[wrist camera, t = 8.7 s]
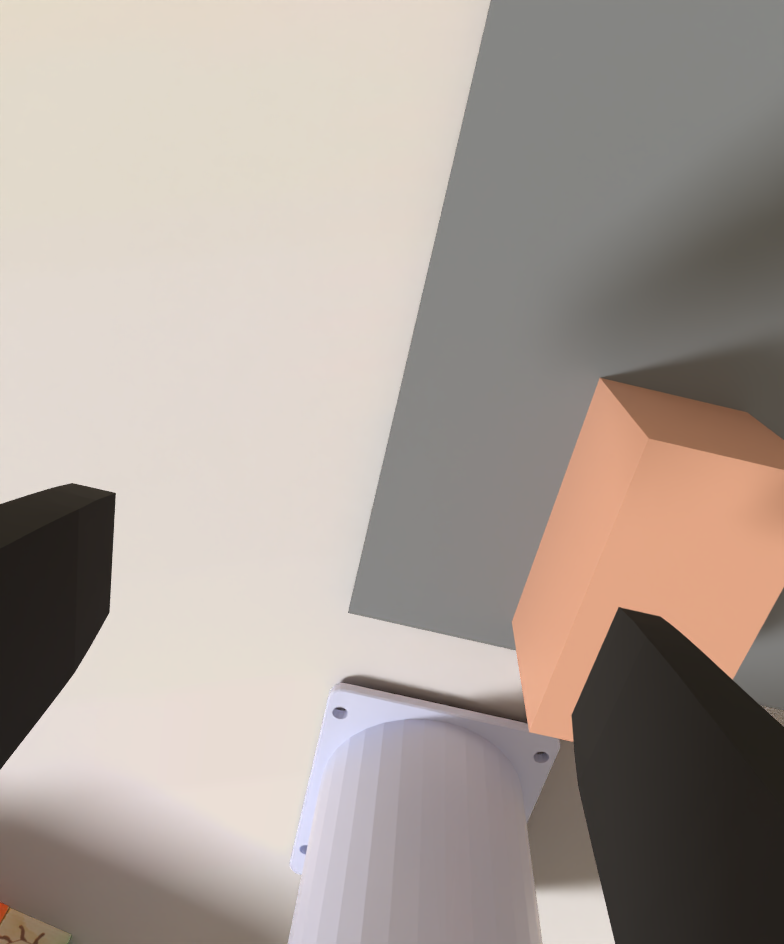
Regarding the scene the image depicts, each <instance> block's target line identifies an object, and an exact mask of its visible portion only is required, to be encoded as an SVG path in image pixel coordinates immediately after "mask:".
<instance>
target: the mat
mask: <svg viewBox="0 0 784 944" xmlns="http://www.w3.org/2000/svg"><path fill="white" fill-rule="evenodd" d="M599 378H603V379H608V380H612V381H616V382H620V383H625V384H629V385H633V386H637V387H642V388H646V389H650V390H654V391H659V392H663V393H667V394H671V395H676V396H680V397H684V398H688V399H693V400H697V401H701V402H705V403H710V404H714V405H718V406H722V407H727V408H731V409H735V410H739V411H744V412H747V413H749V414H750V415H751V416H753V417H754V418H755V419H757V420H758V421H759V422H761V423H762V424H763V425H765V426H766V427H767V428H768V429H770V430H771V431H772V432H774V433H775V434H776V435H778V436H779V437H780V438H782V439H783V440H784V0H491V2H490V7H489V11H488V15H487V19H486V24H485V28H484V32H483V37H482V41H481V45H480V49H479V54H478V58H477V62H476V67H475V71H474V75H473V79H472V84H471V88H470V92H469V97H468V101H467V105H466V109H465V114H464V118H463V122H462V127H461V131H460V135H459V139H458V144H457V148H456V152H455V157H454V161H453V165H452V169H451V174H450V178H449V182H448V187H447V191H446V195H445V199H444V204H443V208H442V212H441V217H440V221H439V225H438V229H437V234H436V238H435V242H434V247H433V251H432V255H431V259H430V264H429V268H428V272H427V277H426V281H425V285H424V289H423V294H422V298H421V302H420V306H419V311H418V315H417V319H416V324H415V328H414V332H413V336H412V341H411V345H410V349H409V354H408V358H407V362H406V366H405V371H404V375H403V379H402V384H401V388H400V392H399V396H398V401H397V405H396V409H395V414H394V418H393V422H392V426H391V431H390V435H389V439H388V444H387V448H386V452H385V456H384V461H383V465H382V469H381V474H380V478H379V482H378V486H377V491H376V495H375V499H374V504H373V508H372V512H371V516H370V521H369V525H368V529H367V534H366V538H365V542H364V546H363V551H362V555H361V559H360V564H359V568H358V572H357V576H356V581H355V585H354V589H353V594H352V598H351V602H350V607H349V611H348V613H351V614H356V615H360V616H365V617H369V618H374V619H378V620H383V621H387V622H392V623H396V624H400V625H405V626H409V627H414V628H418V629H423V630H427V631H432V632H436V633H441V634H445V635H450V636H454V637H458V638H463V639H467V640H472V641H476V642H481V643H485V644H490V645H494V646H499V647H503V648H508V649H512V650H516V646H515V640H514V633H513V627H512V620H513V617H514V614H515V612H516V609H517V606H518V603H519V601H520V598H521V595H522V592H523V589H524V587H525V584H526V581H527V578H528V576H529V573H530V570H531V567H532V564H533V562H534V559H535V556H536V553H537V551H538V548H539V545H540V542H541V539H542V537H543V534H544V531H545V528H546V526H547V523H548V520H549V517H550V514H551V512H552V509H553V506H554V503H555V501H556V498H557V495H558V492H559V489H560V487H561V484H562V481H563V478H564V476H565V473H566V470H567V467H568V464H569V462H570V459H571V456H572V453H573V451H574V448H575V445H576V442H577V439H578V437H579V434H580V431H581V428H582V426H583V423H584V420H585V417H586V414H587V412H588V409H589V406H590V403H591V401H592V398H593V395H594V392H595V389H596V387H597V384H598V381H599ZM733 681H734V682H735V683H737V684H738V685H739V686H740V687H741V688H742V689H743V690H744V691H745V692H746V693H747V694H748V695H749V696H751V697H752V698H753V699H754V700H755V701H756V702H757V703H758V704H759V705H762V706H766V707H771V708H775V709H780V710H784V588H783V589H782V591H781V593H780V595H779V597H778V599H777V600H776V602H775V604H774V606H773V608H772V609H771V611H770V613H769V615H768V617H767V618H766V620H765V622H764V624H763V626H762V627H761V629H760V631H759V633H758V635H757V637H756V638H755V640H754V642H753V644H752V646H751V647H750V649H749V651H748V653H747V655H746V656H745V658H744V660H743V662H742V664H741V665H740V667H739V669H738V671H737V673H736V675H735V676H734V678H733Z"/></svg>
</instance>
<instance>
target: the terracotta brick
mask: <svg viewBox="0 0 784 944" xmlns="http://www.w3.org/2000/svg"><path fill="white" fill-rule="evenodd" d="M783 588H784V440H783V439H782V438H780V437H779V436H778V435H776V434H775V433H774V432H772V431H771V430H770V429H768V428H767V427H766V426H765V425H763V424H762V423H761V422H759V421H758V420H757V419H755V418H754V417H753V416H751V415H750V414H749V413H747V412H744V411H739V410H735V409H731V408H727V407H722V406H718V405H714V404H710V403H705V402H701V401H697V400H693V399H688V398H684V397H680V396H676V395H671V394H667V393H663V392H659V391H654V390H650V389H646V388H642V387H637V386H633V385H629V384H625V383H620V382H616V381H612V380H608V379H603V378H599V381H598V384H597V387H596V389H595V392H594V395H593V398H592V401H591V403H590V406H589V409H588V412H587V414H586V417H585V420H584V423H583V426H582V428H581V431H580V434H579V437H578V439H577V442H576V445H575V448H574V451H573V453H572V456H571V459H570V462H569V464H568V467H567V470H566V473H565V476H564V478H563V481H562V484H561V487H560V489H559V492H558V495H557V498H556V501H555V503H554V506H553V509H552V512H551V514H550V517H549V520H548V523H547V526H546V528H545V531H544V534H543V537H542V539H541V542H540V545H539V548H538V551H537V553H536V556H535V559H534V562H533V564H532V567H531V570H530V573H529V576H528V578H527V581H526V584H525V587H524V589H523V592H522V595H521V598H520V601H519V603H518V606H517V609H516V612H515V614H514V617H513V620H512V627H513V633H514V640H515V646H516V652H517V659H518V665H519V671H520V677H521V684H522V690H523V696H524V703H525V709H526V715H527V722H528V728H529V732H531V733H535V734H540V735H544V736H549V737H554V738H558V739H563V740H567V741H572V742H574V741H573V729H572V716H571V715H572V713H573V710H574V708H575V706H576V704H577V701H578V699H579V697H580V694H581V692H582V690H583V687H584V685H585V683H586V681H587V678H588V676H589V674H590V671H591V669H592V667H593V665H594V662H595V660H596V658H597V655H598V653H599V651H600V649H601V646H602V644H603V642H604V639H605V637H606V635H607V632H608V630H609V628H610V626H611V623H612V621H613V619H614V616H615V614H616V612H617V610H618V607H621V608H625V609H630V610H634V611H639V612H643V613H647V614H652V615H656V616H660V617H662V618H663V619H665V620H666V621H667V622H668V623H670V624H671V625H672V626H674V627H675V628H676V629H677V630H678V631H680V632H681V633H682V634H683V635H684V636H685V637H687V638H688V639H689V640H690V641H691V642H692V643H693V644H694V645H695V646H697V647H698V648H699V649H700V650H701V651H702V652H703V653H704V654H705V655H706V656H708V657H709V658H710V659H711V660H712V661H713V662H714V663H715V664H716V665H717V666H718V667H719V668H720V669H722V670H723V671H724V672H725V673H726V674H727V675H728V676H729V677H730V678H731V679H732V680H733V678H734V676H735V675H736V673H737V671H738V669H739V667H740V665H741V664H742V662H743V660H744V658H745V656H746V655H747V653H748V651H749V649H750V647H751V646H752V644H753V642H754V640H755V638H756V637H757V635H758V633H759V631H760V629H761V627H762V626H763V624H764V622H765V620H766V618H767V617H768V615H769V613H770V611H771V609H772V608H773V606H774V604H775V602H776V600H777V599H778V597H779V595H780V593H781V591H782V589H783Z"/></svg>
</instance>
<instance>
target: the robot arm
mask: <svg viewBox="0 0 784 944" xmlns="http://www.w3.org/2000/svg"><path fill="white" fill-rule="evenodd" d="M115 495H116V493H113V492H109V491H104V490H100V489H96V488H91V487H87V486H82V485H78V484H73V483H71V484H67V485H63V486H58V487H54V488H51V489H47V490H44V491H40V492H37V493H34V494H31V495H27V496H24V497H21V498H18V499H15V500H12V501H9V502H6V503H3V504H0V769H1V768H2V767H3V765H4V764H5V763H6V761H7V760H8V759H9V758H10V756H11V755H12V754H13V752H14V751H15V750H16V749H17V747H18V746H19V745H20V743H21V742H22V741H23V740H24V738H25V737H26V736H27V734H28V733H29V732H30V731H31V729H32V728H33V727H34V725H35V724H36V723H37V722H38V720H39V719H40V718H41V716H42V715H43V714H44V712H45V711H46V710H47V709H48V707H49V706H50V705H51V703H52V702H53V701H54V699H55V698H56V697H57V695H58V694H59V693H60V692H61V690H62V689H63V688H64V686H65V685H66V684H67V682H68V681H69V680H70V678H71V677H72V675H73V674H74V673H75V671H76V669H77V668H78V666H79V664H80V663H81V661H82V659H83V658H84V656H85V654H86V653H87V651H88V649H89V648H90V646H91V644H92V643H93V641H94V639H95V637H96V635H97V634H98V632H99V630H100V628H101V627H102V625H103V623H104V621H105V619H106V618H107V616H108V614H109V609H110V590H111V571H112V552H113V533H114V514H115ZM336 707H342V708H344V709H346V710H338V709H336ZM571 716H572V729H573V741H574V753H575V762H576V770H577V779H578V786H579V790H580V795H581V800H582V804H583V809H584V813H585V817H586V822H587V826H588V830H589V835H590V839H591V843H592V848H593V852H594V856H595V860H596V864H597V869H598V873H599V877H600V881H601V885H602V890H603V894H604V898H605V902H606V906H607V911H608V915H609V919H610V923H611V927H612V932H613V936H614V940H615V944H784V727H783V726H782V725H781V724H780V723H779V722H778V721H777V720H775V719H774V718H773V717H772V716H771V715H770V714H769V713H768V712H767V711H766V710H765V709H764V708H762V707H761V706H760V705H759V704H758V703H757V702H756V701H755V700H754V699H753V698H752V697H751V696H749V695H748V694H747V693H746V692H745V691H744V690H743V689H742V688H741V687H740V686H739V685H738V684H737V683H735V682H734V681H733V680H732V679H731V678H730V677H729V676H728V675H727V674H726V673H725V672H724V671H723V670H722V669H720V668H719V667H718V666H717V665H716V664H715V663H714V662H713V661H712V660H711V659H710V658H709V657H708V656H706V655H705V654H704V653H703V652H702V651H701V650H700V649H699V648H698V647H697V646H695V645H694V644H693V643H692V642H691V641H690V640H689V639H688V638H687V637H685V636H684V635H683V634H682V633H681V632H680V631H678V630H677V629H676V628H675V627H674V626H672V625H671V624H670V623H668V622H667V621H666V620H665V619H663V618H662V617H660V616H656V615H652V614H647V613H643V612H639V611H634V610H630V609H625V608H621V607H618V610H617V612H616V614H615V616H614V619H613V621H612V623H611V626H610V628H609V630H608V632H607V635H606V637H605V639H604V642H603V644H602V646H601V649H600V651H599V653H598V655H597V658H596V660H595V662H594V665H593V667H592V669H591V671H590V674H589V676H588V678H587V681H586V683H585V685H584V687H583V690H582V692H581V694H580V697H579V699H578V701H577V704H576V706H575V708H574V710H573V713H572V715H571ZM560 745H561V744H560V740H559V739H558V738H554V737H549V736H544V735H540V734H535V733H531V732H529V728H528V723H523V722H519V721H514V720H510V719H505V718H501V717H496V716H492V715H487V714H483V713H478V712H474V711H469V710H465V709H460V708H456V707H451V706H447V705H442V704H438V703H433V702H429V701H424V700H420V699H415V698H411V697H406V696H402V695H397V694H393V693H388V692H383V691H379V690H374V689H370V688H365V687H361V686H356V685H352V684H347V683H339V684H336V685H334V686H333V687H332V688H331V690H330V692H329V697H328V701H327V705H326V710H325V714H324V718H323V722H322V727H321V731H320V735H319V739H318V744H317V748H316V752H315V757H314V761H313V765H312V769H311V774H310V778H309V782H308V787H307V791H306V795H305V799H304V804H303V808H302V812H301V817H300V821H299V825H298V829H297V834H296V838H295V842H294V847H293V851H292V855H291V860H290V867H291V869H292V870H293V871H294V872H295V873H297V874H300V875H302V876H301V881H300V886H299V891H298V896H297V901H296V906H295V911H294V915H293V920H292V925H291V930H290V935H289V940H288V944H542V937H541V929H540V921H539V914H538V906H537V899H536V891H535V883H534V876H533V868H532V861H531V853H530V845H529V838H528V830H527V822H528V820H529V818H530V816H531V813H532V811H533V809H534V806H535V804H536V802H537V800H538V797H539V795H540V793H541V791H542V788H543V786H544V784H545V781H546V779H547V777H548V775H549V772H550V770H551V768H552V765H553V763H554V761H555V759H556V756H557V754H558V752H559V750H560ZM537 752H545V753H542V754H536V753H537Z"/></svg>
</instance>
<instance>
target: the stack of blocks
mask: <svg viewBox="0 0 784 944" xmlns="http://www.w3.org/2000/svg"><path fill="white" fill-rule="evenodd" d="M71 936H72V935H71V934H69V933H67V932H65V931H62V930H60V929H58V928H55V927H53V926H51V925H48V924H46V923H44V922H42V921H39V920H37V919H35V918H32V917H30V916H28V915H26V914H23V913H21V912H19V911H16V910H14V909H12V908H10V907H9V906H7V905H5V904H3V903H1V902H0V944H68V943H69V940H70V938H71Z"/></svg>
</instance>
